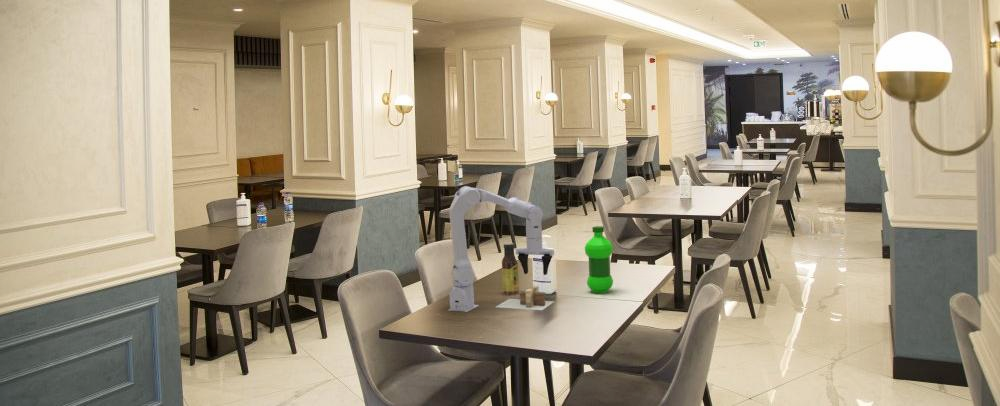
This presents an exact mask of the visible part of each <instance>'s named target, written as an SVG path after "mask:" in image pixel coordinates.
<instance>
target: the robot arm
mask: <svg viewBox="0 0 1000 406" xmlns="http://www.w3.org/2000/svg"><path fill="white" fill-rule="evenodd" d="M486 202H489V203H491V204H495V205H498V206H500V207H504V208H505V210H506V212H507V213H509V214H512V215H515V216H518V217H521V218H524V219H525V233H526V234H525V236H526V238H525V239H526V248H523V247H522V248H519V247H518V248H515V255H517V259H518V261H519V263H520V265H521V267H522V270H523V274H524V275H527V274H528V273H529V265H528V263H529V255H534V256H535V255H536V256H538V255H540V256H541V255H542V256H541V262H542V267H543V268H542V273H543V275H544V276H546V275H548V270H549V266H550V263H551V260H552V258H553V256H554V255H555V249H553V248H550V249H549V248H544V247H543V234H542V233H543V230H542V229H543V228H542V219H543V218H544V212H543V210H542V208H541V207H540V206H537V205H534V204H533V203H532V202H531V201H527V202H526V201H524V200H521V197H518V196H515V197H513V196H512V197H510V198H506V197H503V196H501V195H498V194H496V193H493V192H491V191H489V190H485V189H481V188H477V187H471V186H468V185H464V186H462V187H461V188H459V189H458V190H457V191H456V192H455V194H454V197H453V199H452V202H451V205H450V207H449V209H448V215H449V222H450V231H451V233H450V234H451V242H452V249H453V261H452V269H451V277H452V279H454V281H453V282H452V285H453V286H452V289H451V290H450V292H449V309H448V311H452V312H467V313H468V312H469V311H472V310H473V309H475V308H477V307H479V304H475V297H474V296H475V295H474V292H475V291H474V279H475V274H474V272H473V270H472V268H471V262H470V259H469V254H468V253H469V252H468V243H467V236H466V235H467V234H466V227H465V226H466V225H465V218H464V217H465V216H464V215H465V214H466V213H467V212H468V211H469V210H470V208H472V207H474V206H477V204H479V203H486Z"/></svg>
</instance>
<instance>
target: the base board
mask: <svg viewBox="0 0 1000 406" xmlns="http://www.w3.org/2000/svg"><path fill="white" fill-rule="evenodd" d="M555 302H556V301H554V300H545V306H535V305H534V306H533V307H531V308H529V307H526V305H520V298H508V299H507V300H505V301H502V302H501V303H500V304H498V305H497V306H495V308H499V309H501V308H502V309H515V310H533V311H543V310H545V309H546V308H547V307H549V306H551V305H552V304H554V303H555Z"/></svg>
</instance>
